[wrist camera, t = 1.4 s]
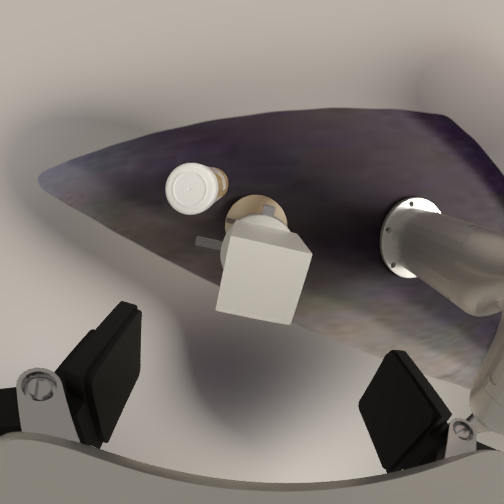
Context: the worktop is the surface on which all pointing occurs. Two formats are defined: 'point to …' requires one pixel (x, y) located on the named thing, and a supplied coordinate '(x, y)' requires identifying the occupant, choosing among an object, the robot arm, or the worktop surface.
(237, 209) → the post base
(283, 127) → the worktop surface
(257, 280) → the coupling cap
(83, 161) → the worktop surface
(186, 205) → the sprinkles bottle
